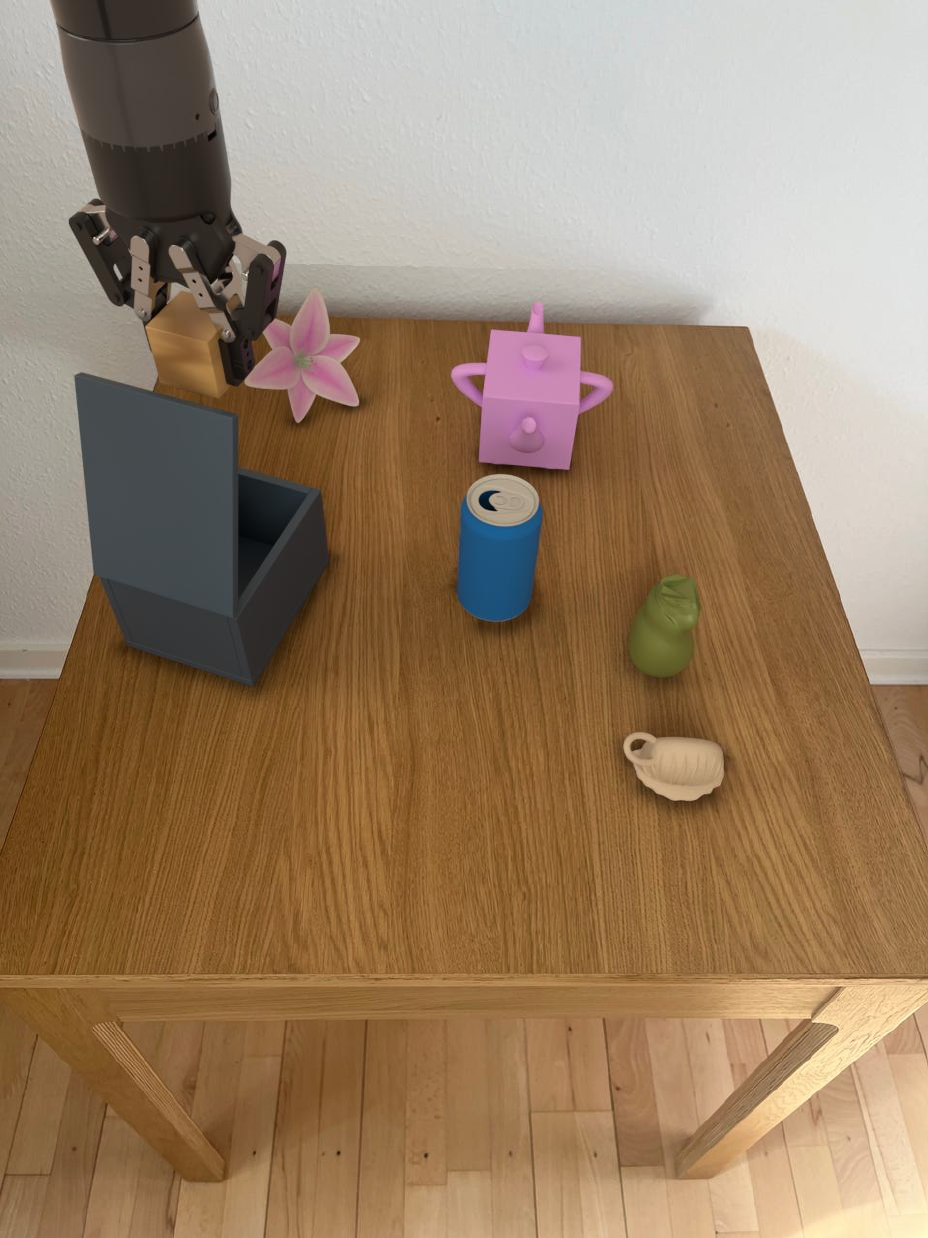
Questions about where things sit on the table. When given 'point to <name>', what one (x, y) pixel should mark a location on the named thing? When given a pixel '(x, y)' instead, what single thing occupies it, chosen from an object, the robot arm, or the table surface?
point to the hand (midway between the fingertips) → (205, 368)
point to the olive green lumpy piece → (665, 627)
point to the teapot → (530, 395)
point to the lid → (161, 492)
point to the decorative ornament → (677, 765)
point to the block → (187, 348)
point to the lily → (306, 359)
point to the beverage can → (498, 547)
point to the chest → (239, 586)
